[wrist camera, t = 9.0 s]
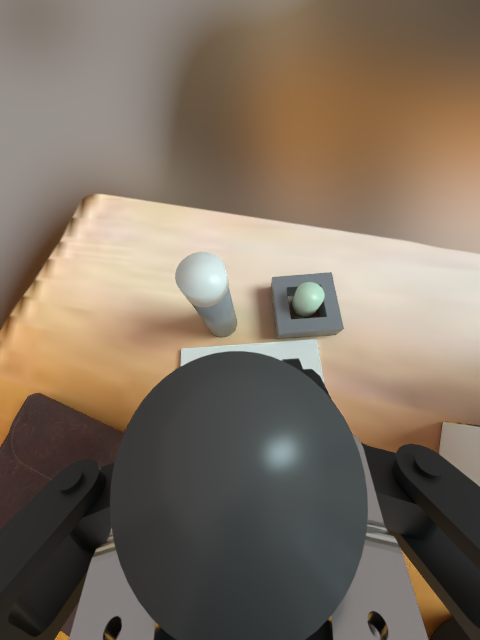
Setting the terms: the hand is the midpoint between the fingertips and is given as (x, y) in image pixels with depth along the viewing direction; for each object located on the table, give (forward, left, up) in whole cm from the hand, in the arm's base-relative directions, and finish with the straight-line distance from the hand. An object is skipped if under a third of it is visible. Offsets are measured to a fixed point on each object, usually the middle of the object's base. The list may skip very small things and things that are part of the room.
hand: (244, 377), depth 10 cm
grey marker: (+3, -8, -16) cm, 18 cm away
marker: (0, +2, -5) cm, 6 cm away
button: (-7, -9, -14) cm, 18 cm away
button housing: (-7, -9, -16) cm, 19 cm away
